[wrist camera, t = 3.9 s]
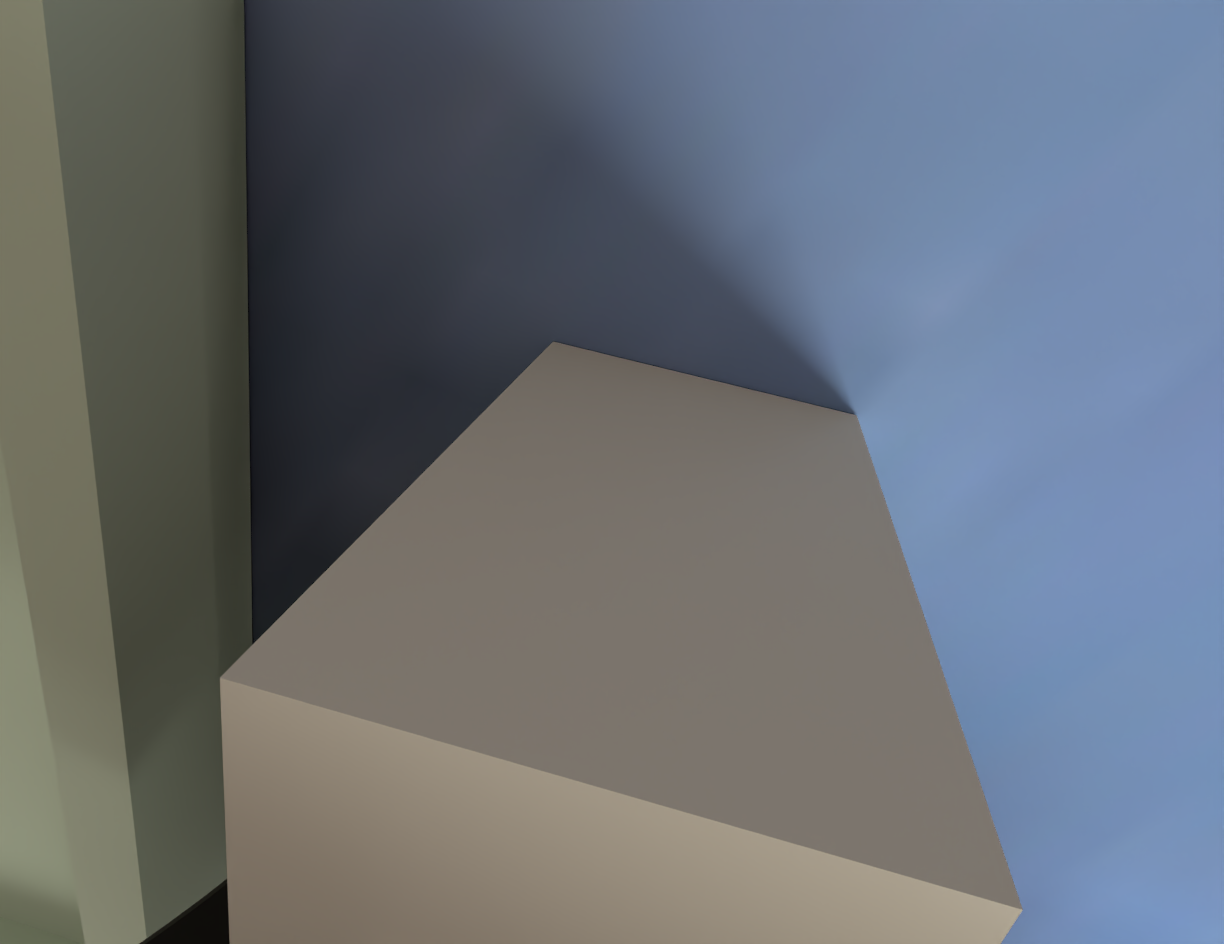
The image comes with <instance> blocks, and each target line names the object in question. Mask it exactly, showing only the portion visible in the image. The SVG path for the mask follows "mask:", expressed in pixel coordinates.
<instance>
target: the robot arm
mask: <svg viewBox="0 0 1224 944" xmlns="http://www.w3.org/2000/svg"><path fill="white" fill-rule="evenodd" d="M139 944H230V941H229V913H228V886H227V879H226V880H224V881H223V882H222V883H221V884H219V885H218V886H217V887H216V888H214V889H213V890H212V891H211V892H209V893H208V894H207V895H205V896H204V897H203V898H201V899H200V900H199V901H197V902H196V903H195V904H193V905H192V906H191V907H189V908H188V909H187V910H185V911H184V912H182V913H181V914H180V915H178V916H177V917H176V918H174V919H173V920H172V921H170V922H169V923H167V924H166V925H165V926H163V927H162V928H160V929H159V930H158V931H156V932H155V933H153V934H152V935H151V936H149V937H148V938H146V939H145V940H144V941H142V942H141V943H139Z"/></svg>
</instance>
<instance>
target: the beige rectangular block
mask: <svg viewBox="0 0 1224 944" xmlns="http://www.w3.org/2000/svg"><path fill="white" fill-rule="evenodd" d="M220 697H221V724H222V751H223V778H224V805H225V832H226V859H227V886H228V913H229V941H230V944H1001V942H1002V941H1003V939H1004V938H1005V936H1006V935H1007V933H1008V932H1009V930H1010V928H1011V927H1012V925H1013V924H1014V922H1015V921H1016V919H1017V918H1018V916H1019V915H1020V913H1021V912H1022V910H1023V909H1022V906H1021V903H1020V900H1019V897H1018V894H1017V891H1016V888H1015V885H1014V882H1013V879H1012V876H1011V874H1010V871H1009V868H1008V865H1007V862H1006V859H1005V856H1004V853H1003V850H1002V847H1001V844H1000V841H999V838H998V835H997V832H996V829H995V826H994V823H993V820H992V817H991V814H990V811H989V808H988V805H987V802H986V799H985V796H984V793H983V790H982V787H981V784H980V781H979V778H978V775H977V772H976V769H975V766H974V763H973V760H972V757H971V754H970V751H969V748H968V745H967V743H966V740H965V737H964V734H963V731H962V728H961V725H960V722H959V719H958V716H957V713H956V710H955V707H954V704H953V701H952V698H951V695H950V692H949V689H948V686H947V683H946V680H945V677H944V674H943V671H942V668H941V665H940V662H939V659H938V656H937V653H936V650H935V647H934V644H933V641H932V638H931V635H930V632H929V629H928V626H927V623H926V620H925V617H924V614H923V611H922V609H921V606H920V603H919V600H918V597H917V594H916V591H915V588H914V585H913V582H912V579H911V576H910V573H909V570H908V567H907V564H906V561H905V558H904V555H903V552H902V549H901V546H900V543H899V540H898V537H897V534H896V531H895V528H894V525H893V522H892V519H891V516H890V513H889V510H888V507H887V504H886V501H885V498H884V495H883V492H882V489H881V486H880V483H879V480H878V478H877V475H876V472H875V469H874V466H873V463H872V460H871V457H870V454H869V451H868V448H867V445H866V442H865V439H864V436H863V433H862V430H861V427H860V424H859V421H858V418H857V415H853V414H849V413H845V412H841V411H837V410H833V409H829V408H824V407H820V406H816V405H812V404H808V403H804V402H800V401H796V400H792V399H787V398H783V397H779V396H775V395H771V394H767V393H763V392H759V391H755V390H750V389H746V388H742V387H738V386H734V385H730V384H726V383H722V382H717V381H713V380H709V379H705V378H701V377H697V376H693V375H689V374H685V373H680V372H676V371H672V370H668V369H664V368H660V367H656V366H652V365H648V364H643V363H639V362H635V361H631V360H627V359H623V358H619V357H615V356H610V355H606V354H602V353H598V352H594V351H590V350H586V349H582V348H578V347H573V346H569V345H565V344H561V343H557V342H552V343H551V344H550V345H549V346H548V347H547V348H546V349H545V350H544V351H543V352H542V353H541V354H540V355H539V356H538V357H537V358H536V359H535V360H534V361H533V362H532V363H531V364H530V365H529V366H528V367H527V368H526V369H525V370H524V371H523V372H522V373H521V374H520V375H519V376H518V377H517V378H516V379H515V380H514V382H513V383H512V384H511V385H510V386H509V387H508V388H507V389H506V390H505V391H504V392H503V393H502V394H501V395H500V396H499V397H498V398H497V399H496V400H495V401H494V402H493V403H492V404H491V405H490V406H489V407H488V408H487V409H486V410H485V411H484V412H483V413H482V414H481V415H480V416H479V417H478V418H477V419H476V420H475V421H474V422H473V423H472V424H471V425H470V426H469V427H468V428H467V429H466V430H465V431H464V432H463V433H462V434H461V435H460V436H459V437H458V438H457V439H456V440H455V441H454V442H453V443H452V444H451V445H450V446H449V447H448V448H447V449H446V450H445V451H444V452H443V453H442V454H441V455H440V456H439V457H438V458H437V459H436V460H435V461H434V462H433V463H432V464H431V465H430V466H429V467H428V468H427V469H426V470H425V471H424V472H423V473H422V474H421V475H420V476H419V477H418V478H417V479H416V480H415V481H414V482H413V483H412V484H411V485H410V486H409V487H408V488H407V489H406V490H405V491H404V492H403V493H402V494H401V495H400V497H399V498H398V499H397V500H396V501H395V502H394V503H393V504H392V505H391V506H390V507H389V508H388V509H387V510H386V511H385V512H384V513H383V514H382V515H381V516H380V517H379V518H378V519H377V520H376V521H375V522H374V523H373V524H372V525H371V526H370V527H369V528H368V529H367V530H366V531H365V532H364V533H363V534H362V535H361V536H360V537H359V538H358V539H357V540H356V541H355V542H354V543H353V544H352V545H351V546H350V547H349V548H348V549H347V550H346V551H345V552H344V553H343V554H342V555H341V556H340V557H339V558H338V559H337V560H336V561H335V562H334V563H333V564H332V565H331V566H330V567H329V568H328V569H327V570H326V571H325V572H324V573H323V574H322V575H321V576H320V577H319V578H318V579H317V580H316V581H315V582H314V583H313V584H312V585H311V586H310V587H309V588H308V589H307V590H306V591H305V592H304V593H303V594H302V595H301V596H300V597H299V598H298V599H297V600H296V601H295V602H294V603H293V604H292V605H291V606H290V607H289V608H288V609H287V610H286V611H285V613H284V614H283V615H282V616H281V617H280V618H279V619H278V620H277V621H276V622H275V623H274V624H273V625H272V626H271V627H270V628H269V629H268V630H267V631H266V632H265V633H264V634H263V635H262V636H261V637H260V638H259V639H258V640H257V641H256V642H255V643H254V644H253V645H252V646H251V647H250V648H249V649H248V650H247V651H246V652H245V653H244V654H243V655H242V656H241V657H240V658H239V659H238V660H237V661H236V662H235V663H234V664H233V665H232V666H231V667H230V668H229V669H228V670H227V671H226V672H225V673H224V674H223V675H222V676H221V677H220Z"/></svg>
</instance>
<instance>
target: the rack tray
mask: <svg viewBox="0 0 1224 944" xmlns="http://www.w3.org/2000/svg"><path fill="white" fill-rule="evenodd" d="M251 646H252V583H251V506H250V430H249V353H248V276H247V199H246V123H245V46H244V0H0V944H139V943H141V942H142V941H144V940H145V939H146V938H148V937H149V936H151V935H152V934H153V933H155V932H156V931H158V930H159V929H160V928H162V927H163V926H165V925H166V924H167V923H169V922H170V921H172V920H173V919H174V918H176V917H177V916H178V915H180V914H181V913H182V912H184V911H185V910H187V909H188V908H189V907H191V906H192V905H193V904H195V903H196V902H197V901H199V900H200V899H201V898H203V897H204V896H205V895H207V894H208V893H209V892H211V891H212V890H213V889H214V888H216V887H217V886H218V885H219V884H221V883H222V882H223V881H224V880H226V879H227V859H226V832H225V805H224V778H223V751H222V724H221V697H220V677H221V676H222V675H223V674H224V673H225V672H226V671H227V670H228V669H229V668H230V667H231V666H232V665H233V664H234V663H235V662H236V661H237V660H238V659H239V658H240V657H241V656H242V655H243V654H244V653H245V652H246V651H247V650H248V649H249V648H250V647H251Z"/></svg>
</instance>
